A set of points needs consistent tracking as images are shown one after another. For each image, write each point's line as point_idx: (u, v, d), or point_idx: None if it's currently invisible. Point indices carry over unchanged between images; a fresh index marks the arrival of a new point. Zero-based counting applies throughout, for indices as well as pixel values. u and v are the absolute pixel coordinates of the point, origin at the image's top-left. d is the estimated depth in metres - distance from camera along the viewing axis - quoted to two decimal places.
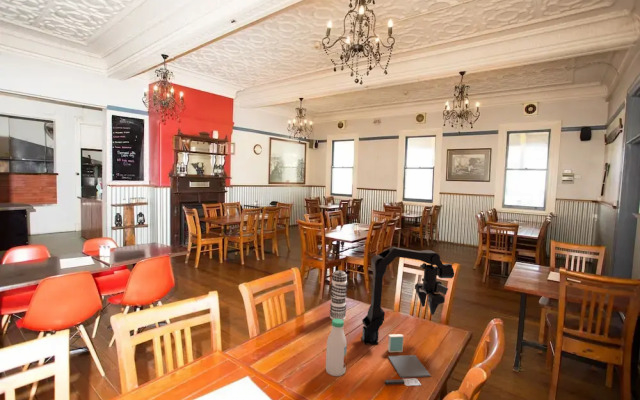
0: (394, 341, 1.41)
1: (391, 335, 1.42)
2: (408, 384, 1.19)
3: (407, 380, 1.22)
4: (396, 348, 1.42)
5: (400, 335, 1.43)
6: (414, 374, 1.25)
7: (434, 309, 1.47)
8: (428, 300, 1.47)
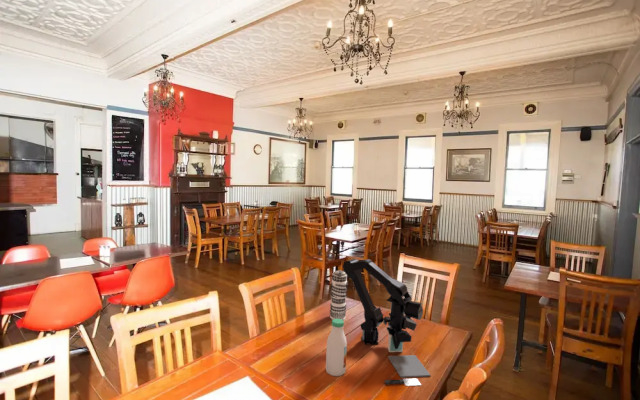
0: None
1: None
2: (408, 384, 1.19)
3: (407, 380, 1.22)
4: None
5: None
6: (414, 374, 1.25)
7: (398, 343, 1.41)
8: (391, 334, 1.40)
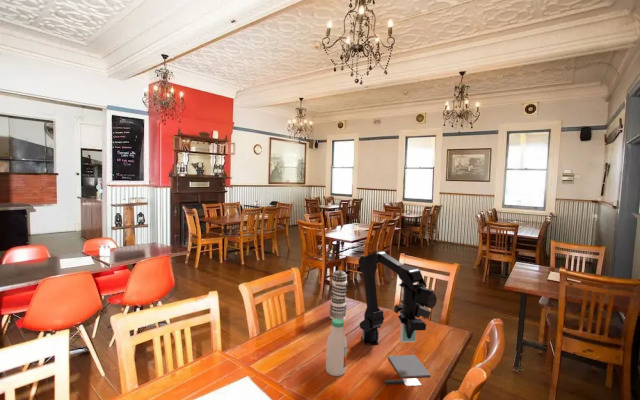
0: None
1: (403, 324, 1.32)
2: (408, 384, 1.19)
3: (407, 380, 1.22)
4: None
5: None
6: (414, 374, 1.25)
7: (411, 333, 1.30)
8: (404, 323, 1.30)
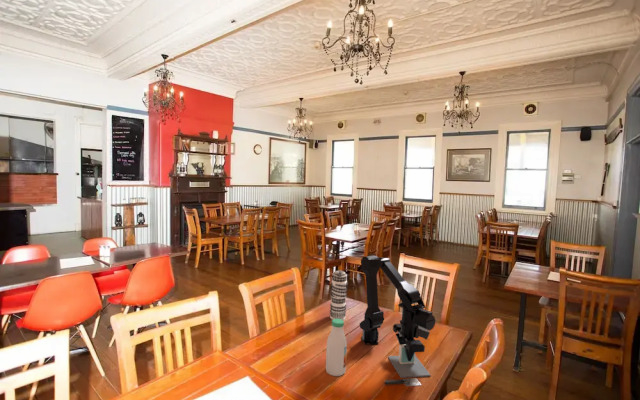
0: (405, 352, 1.32)
1: (402, 345, 1.33)
2: (408, 384, 1.19)
3: (407, 380, 1.22)
4: None
5: None
6: (414, 374, 1.25)
7: (411, 355, 1.29)
8: (404, 345, 1.29)
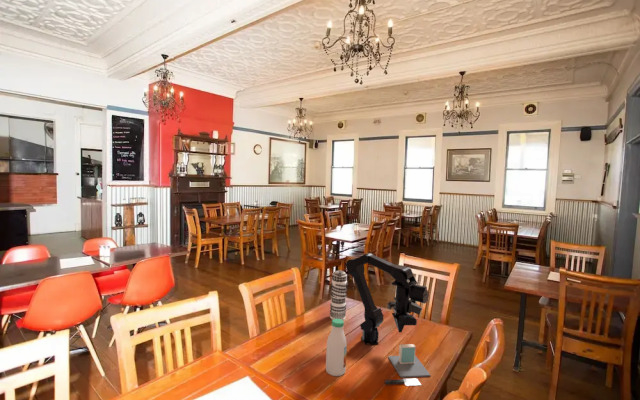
0: (405, 352, 1.32)
1: (402, 345, 1.33)
2: (408, 384, 1.19)
3: (407, 380, 1.22)
4: (408, 360, 1.32)
5: (412, 345, 1.33)
6: (414, 374, 1.25)
7: (402, 326, 1.39)
8: (395, 317, 1.39)
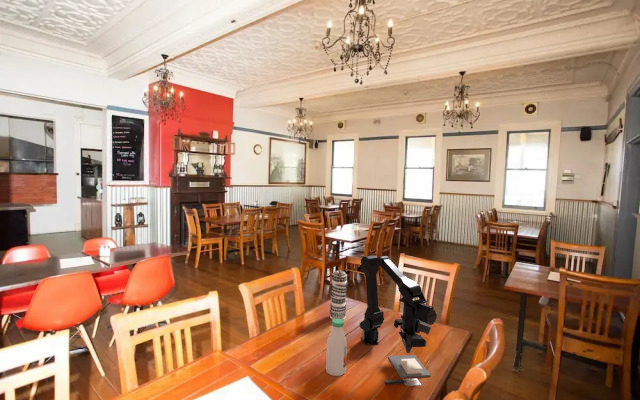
0: None
1: (409, 371, 1.25)
2: (408, 384, 1.19)
3: (407, 380, 1.22)
4: None
5: (419, 371, 1.26)
6: (414, 374, 1.25)
7: (410, 347, 1.31)
8: (403, 337, 1.30)
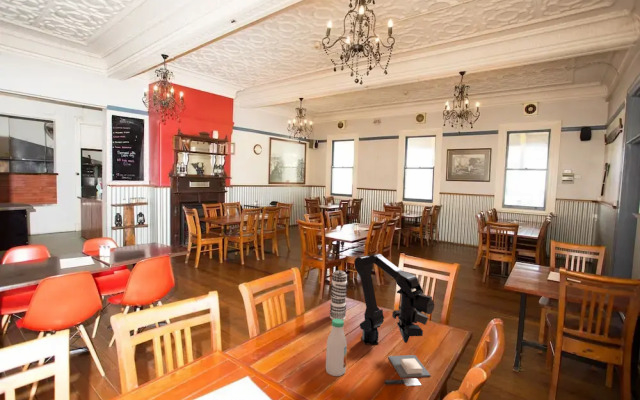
0: None
1: (409, 371, 1.25)
2: (408, 384, 1.19)
3: (407, 380, 1.22)
4: None
5: (419, 371, 1.26)
6: (414, 374, 1.25)
7: (407, 337, 1.35)
8: (400, 327, 1.34)
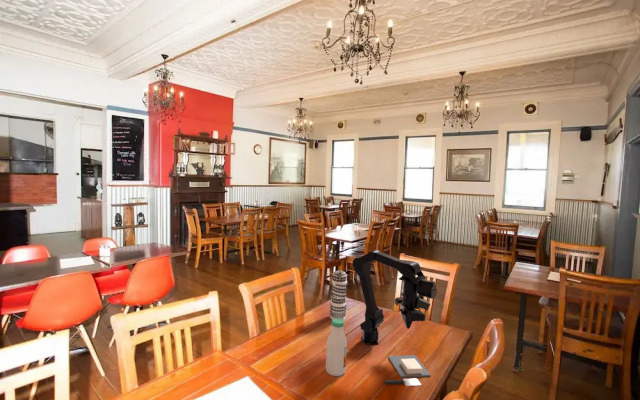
0: None
1: (409, 371, 1.25)
2: (408, 384, 1.19)
3: (407, 380, 1.22)
4: None
5: (419, 371, 1.26)
6: (414, 374, 1.25)
7: (410, 323, 1.36)
8: (403, 313, 1.36)
